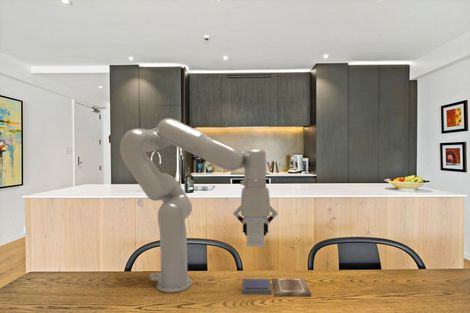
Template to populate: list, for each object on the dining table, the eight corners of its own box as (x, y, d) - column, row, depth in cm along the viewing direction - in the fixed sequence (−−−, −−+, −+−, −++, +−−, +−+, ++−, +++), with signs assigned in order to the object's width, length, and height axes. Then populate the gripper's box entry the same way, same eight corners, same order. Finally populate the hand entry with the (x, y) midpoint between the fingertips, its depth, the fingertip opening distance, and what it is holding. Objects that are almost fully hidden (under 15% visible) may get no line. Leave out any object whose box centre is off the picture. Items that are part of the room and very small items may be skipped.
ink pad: (242, 294, 107) (242, 288, 107) (242, 282, 116) (242, 277, 116) (271, 294, 106) (271, 289, 106) (269, 282, 115) (269, 278, 115)
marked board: (274, 296, 105) (274, 292, 104) (272, 281, 117) (272, 277, 116) (311, 296, 104) (311, 292, 104) (304, 281, 116) (304, 277, 116)
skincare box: (264, 243, 112) (263, 210, 112) (264, 247, 108) (263, 212, 108) (247, 242, 113) (247, 210, 113) (246, 246, 109) (246, 212, 108)
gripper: (230, 185, 107) (230, 237, 107) (280, 185, 106) (281, 238, 106) (231, 183, 114) (231, 231, 115) (278, 182, 113) (279, 232, 114)
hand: (255, 234), depth 110 cm, fingers closed on skincare box, 6 cm apart
